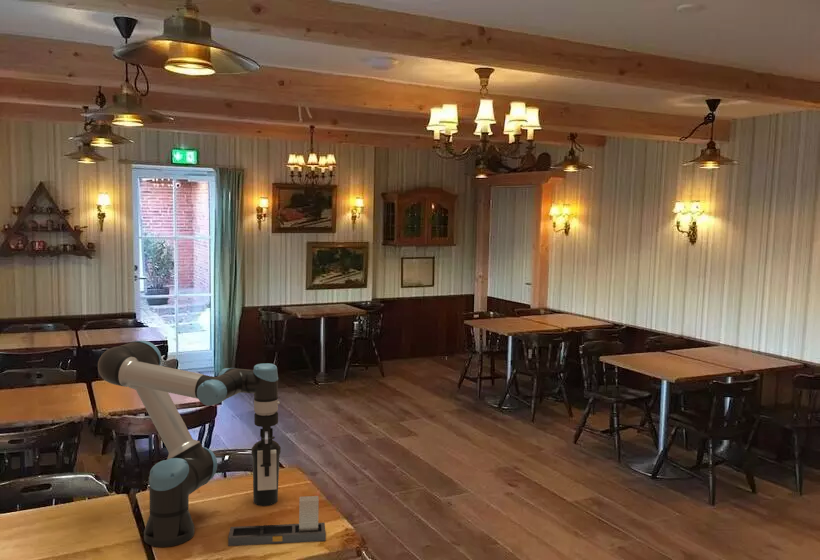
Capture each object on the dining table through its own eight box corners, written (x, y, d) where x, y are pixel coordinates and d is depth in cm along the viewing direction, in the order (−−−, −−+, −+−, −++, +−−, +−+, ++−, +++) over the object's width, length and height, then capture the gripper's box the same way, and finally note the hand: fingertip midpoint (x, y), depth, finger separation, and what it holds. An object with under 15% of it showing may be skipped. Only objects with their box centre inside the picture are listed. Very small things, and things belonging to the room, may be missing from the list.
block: (257, 490, 215) (257, 454, 214) (257, 486, 218) (257, 450, 217) (276, 489, 216) (276, 453, 215) (276, 485, 219) (276, 449, 218)
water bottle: (283, 496, 245) (284, 435, 242) (275, 508, 234) (275, 444, 232) (256, 494, 246) (257, 433, 243) (247, 506, 235) (247, 442, 233)
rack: (228, 546, 207) (228, 507, 206) (230, 534, 214) (230, 496, 213) (325, 541, 212) (326, 503, 211) (324, 530, 220) (325, 493, 218)
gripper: (278, 419, 207) (279, 492, 209) (277, 404, 223) (278, 472, 226) (253, 420, 206) (254, 493, 208) (255, 405, 222) (255, 473, 224)
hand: (267, 482), depth 217 cm, fingers closed on block, 3 cm apart
